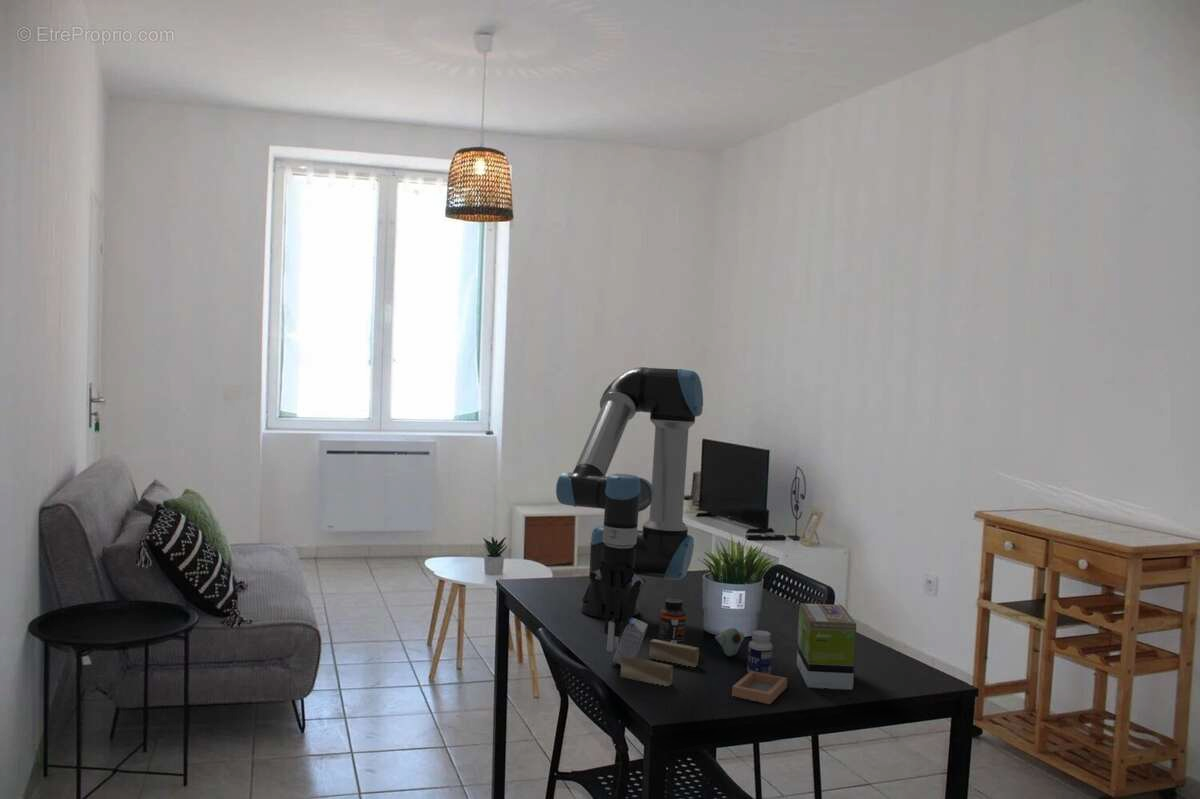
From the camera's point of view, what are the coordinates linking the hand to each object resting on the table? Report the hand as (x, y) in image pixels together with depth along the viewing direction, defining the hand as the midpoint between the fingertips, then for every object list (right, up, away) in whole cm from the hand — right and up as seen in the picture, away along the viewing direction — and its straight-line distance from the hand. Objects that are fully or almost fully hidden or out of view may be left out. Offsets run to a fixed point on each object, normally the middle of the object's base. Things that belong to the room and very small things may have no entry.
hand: (612, 649), depth 224 cm
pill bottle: (+32, -5, -2) cm, 33 cm away
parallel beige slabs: (+10, -3, -5) cm, 12 cm away
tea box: (+46, -6, -4) cm, 47 cm away
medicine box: (+2, -2, -1) cm, 3 cm away
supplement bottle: (+14, -3, +12) cm, 19 cm away
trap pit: (+30, -5, -15) cm, 34 cm away
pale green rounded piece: (+27, -4, +8) cm, 29 cm away
